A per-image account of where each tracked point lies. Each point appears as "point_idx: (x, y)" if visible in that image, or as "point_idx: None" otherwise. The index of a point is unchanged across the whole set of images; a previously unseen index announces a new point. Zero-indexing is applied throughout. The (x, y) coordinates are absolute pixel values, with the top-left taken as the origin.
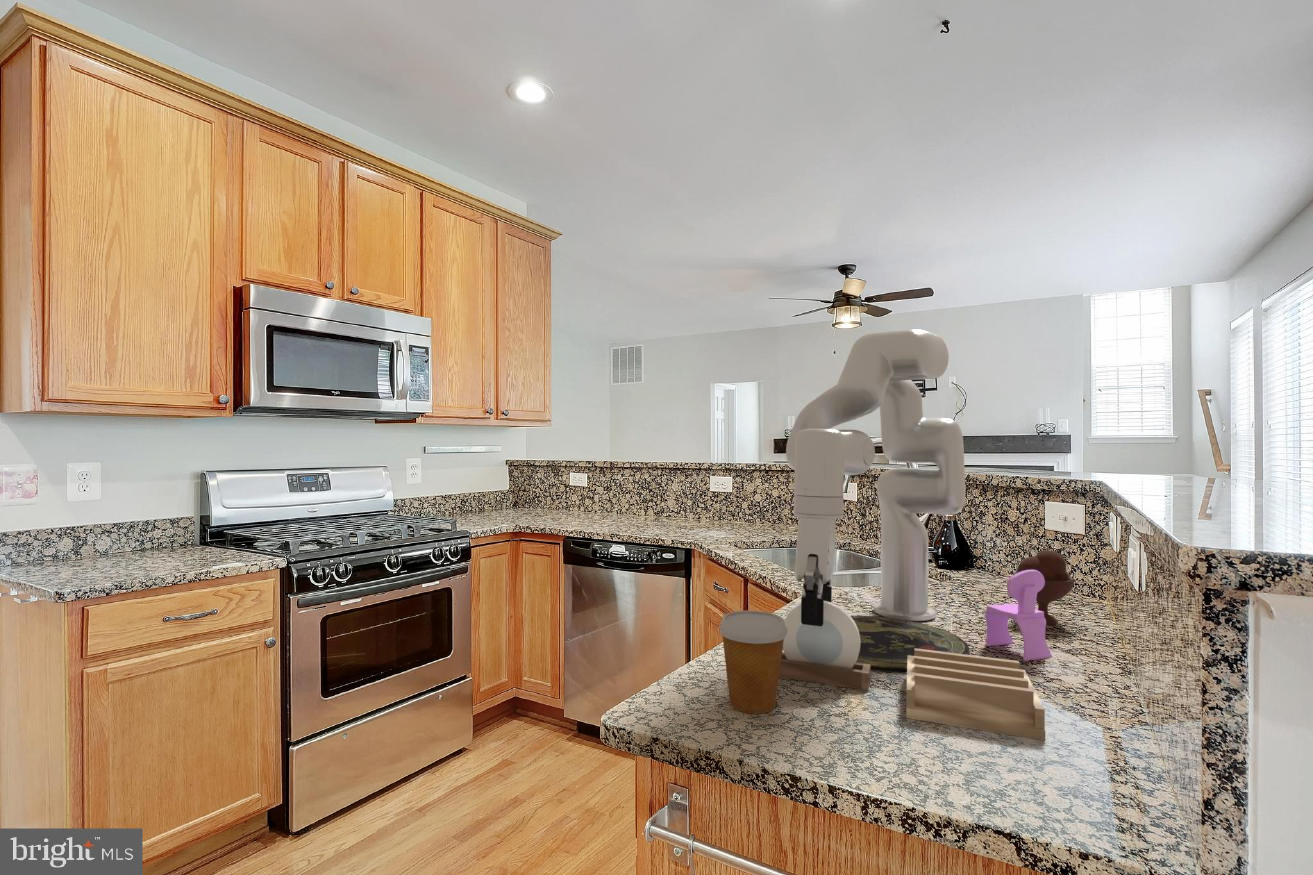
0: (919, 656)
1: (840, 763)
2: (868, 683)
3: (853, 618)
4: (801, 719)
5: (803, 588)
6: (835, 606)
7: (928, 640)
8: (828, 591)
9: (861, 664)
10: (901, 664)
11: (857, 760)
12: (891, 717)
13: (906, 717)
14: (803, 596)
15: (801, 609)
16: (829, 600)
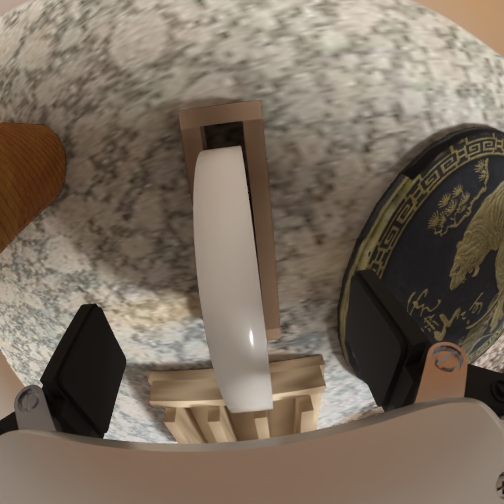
0: (299, 408)
1: (5, 318)
2: None
3: None
4: (42, 257)
5: (19, 423)
6: (242, 409)
7: (462, 344)
8: (375, 390)
9: (271, 325)
10: (346, 353)
11: (20, 331)
12: (138, 357)
13: (150, 371)
14: (23, 395)
15: (62, 339)
16: (360, 363)
